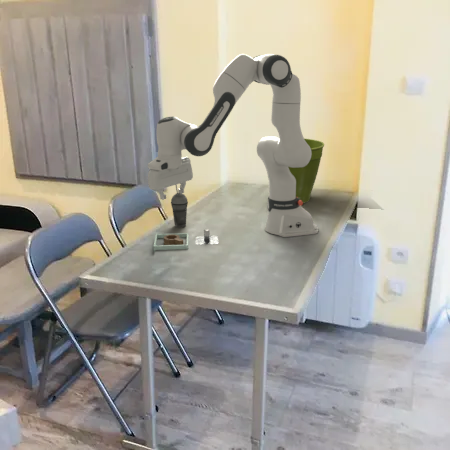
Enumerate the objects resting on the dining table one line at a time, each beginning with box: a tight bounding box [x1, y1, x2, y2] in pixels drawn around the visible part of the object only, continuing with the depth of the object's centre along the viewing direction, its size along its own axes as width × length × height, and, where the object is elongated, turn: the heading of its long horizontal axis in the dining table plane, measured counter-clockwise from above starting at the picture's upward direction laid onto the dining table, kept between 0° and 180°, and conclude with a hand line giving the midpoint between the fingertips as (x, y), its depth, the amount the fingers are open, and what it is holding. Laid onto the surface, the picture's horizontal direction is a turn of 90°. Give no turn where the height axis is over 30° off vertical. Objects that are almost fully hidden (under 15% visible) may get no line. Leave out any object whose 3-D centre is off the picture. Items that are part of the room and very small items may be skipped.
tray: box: [153, 232, 190, 253], centre depth 207 cm, size 13×13×2 cm
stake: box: [195, 228, 219, 246], centre depth 209 cm, size 9×9×5 cm
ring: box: [163, 233, 185, 245], centre depth 206 cm, size 9×6×3 cm
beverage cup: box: [170, 184, 189, 229], centre depth 223 cm, size 7×7×20 cm
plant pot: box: [267, 138, 325, 204], centre depth 259 cm, size 30×30×29 cm
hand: (172, 196), depth 202 cm, fingers open, 8 cm apart
